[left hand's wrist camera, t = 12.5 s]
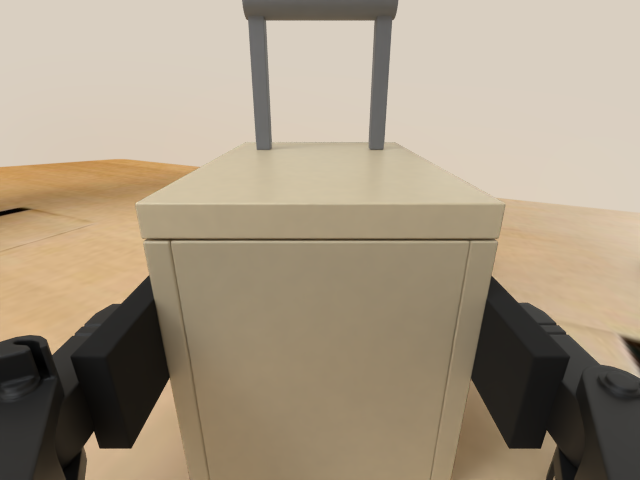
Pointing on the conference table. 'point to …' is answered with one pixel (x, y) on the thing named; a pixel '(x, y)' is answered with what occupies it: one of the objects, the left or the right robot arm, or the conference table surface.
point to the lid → (320, 167)
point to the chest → (320, 353)
